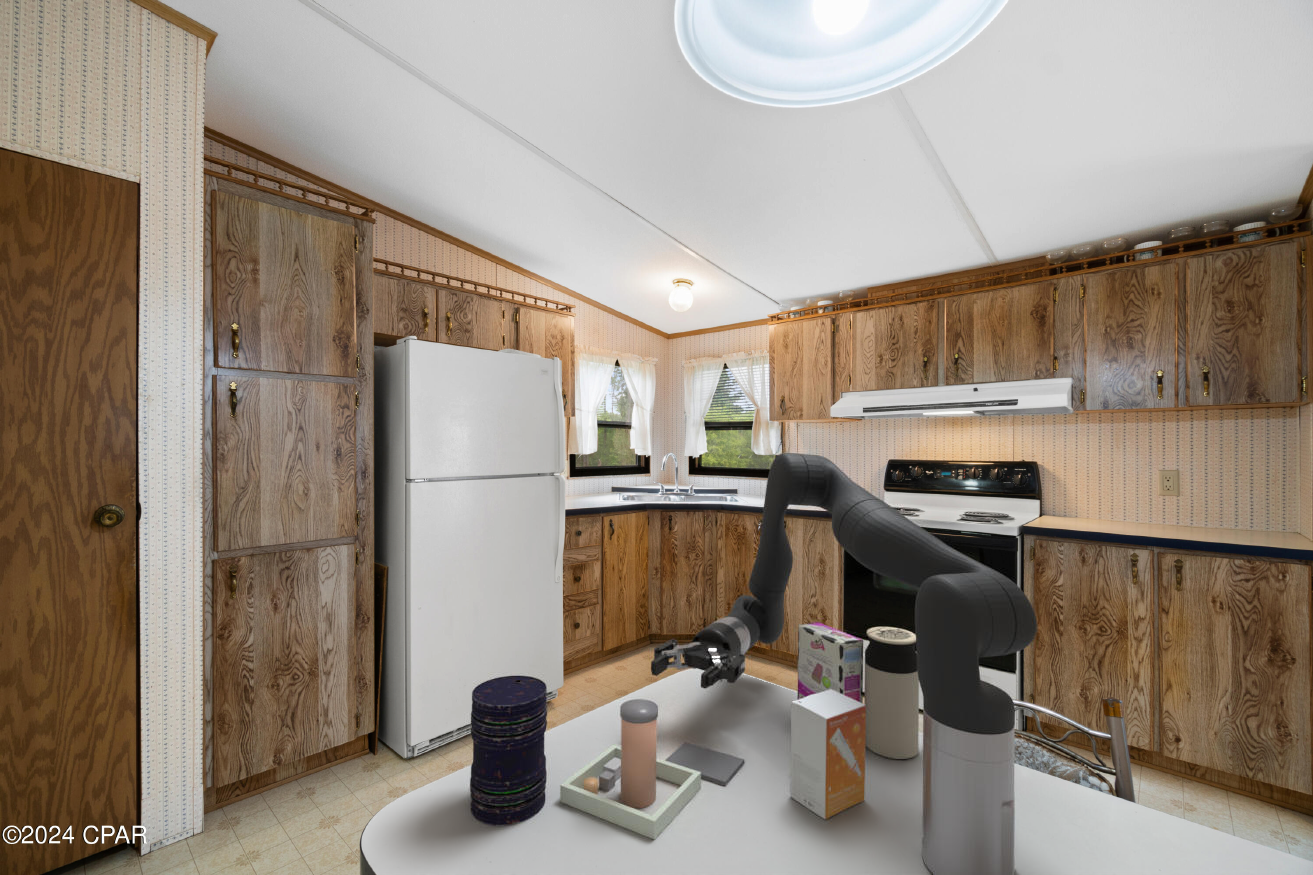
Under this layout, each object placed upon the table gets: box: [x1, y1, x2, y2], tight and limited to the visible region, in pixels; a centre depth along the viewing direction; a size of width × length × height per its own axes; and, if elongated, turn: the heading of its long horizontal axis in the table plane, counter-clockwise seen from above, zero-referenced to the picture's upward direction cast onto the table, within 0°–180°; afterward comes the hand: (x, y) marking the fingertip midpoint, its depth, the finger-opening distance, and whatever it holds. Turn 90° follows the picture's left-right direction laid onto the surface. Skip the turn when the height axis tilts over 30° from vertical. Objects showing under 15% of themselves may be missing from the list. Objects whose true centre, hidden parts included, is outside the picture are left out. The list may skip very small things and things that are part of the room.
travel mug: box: [864, 626, 920, 760], centre depth 95 cm, size 8×8×18 cm
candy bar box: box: [796, 622, 864, 704], centre depth 101 cm, size 11×5×16 cm, turn 25°
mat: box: [665, 741, 745, 787], centre depth 89 cm, size 10×7×1 cm
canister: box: [619, 698, 659, 809], centre depth 81 cm, size 5×5×12 cm
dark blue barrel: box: [469, 675, 548, 827], centre depth 79 cm, size 10×10×15 cm
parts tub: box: [559, 743, 702, 840], centre depth 81 cm, size 15×13×2 cm
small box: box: [789, 689, 866, 820], centre depth 81 cm, size 8×6×13 cm
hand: (677, 675), depth 91 cm, fingers open, 8 cm apart
